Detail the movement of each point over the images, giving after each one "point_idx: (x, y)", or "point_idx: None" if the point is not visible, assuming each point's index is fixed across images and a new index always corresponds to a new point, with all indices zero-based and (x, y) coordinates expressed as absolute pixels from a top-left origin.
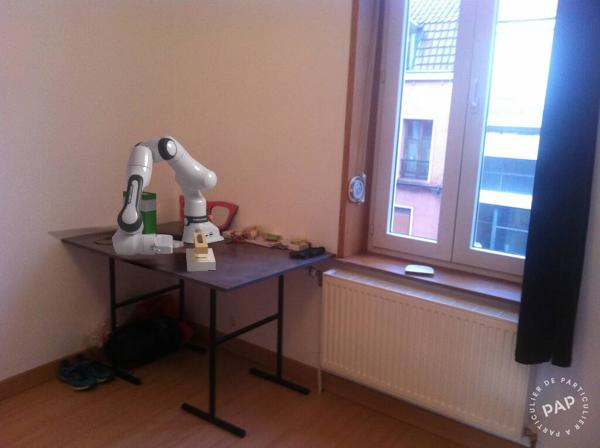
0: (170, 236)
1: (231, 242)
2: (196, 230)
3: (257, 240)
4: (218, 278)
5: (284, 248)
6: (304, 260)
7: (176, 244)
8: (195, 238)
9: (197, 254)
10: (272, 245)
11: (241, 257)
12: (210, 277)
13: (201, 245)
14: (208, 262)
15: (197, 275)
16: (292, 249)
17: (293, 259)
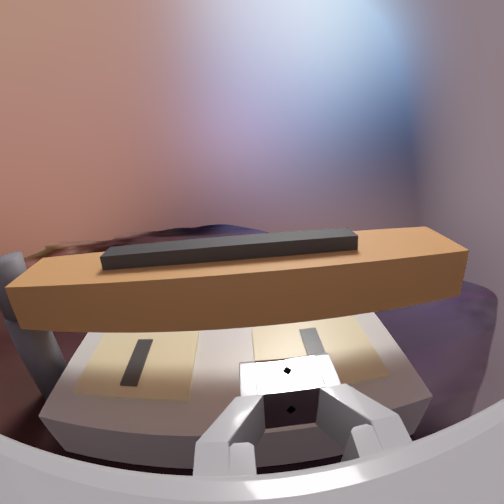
0: (3, 459)
1: None
2: (5, 266)
3: (31, 266)
4: (446, 316)
5: (120, 241)
6: (227, 225)
7: (379, 417)
8: (187, 274)
9: (208, 376)
10: (85, 252)
11: None
12: (450, 335)
13: (414, 240)
14: (378, 320)
15: (453, 376)
16: (135, 235)
17: (216, 232)
